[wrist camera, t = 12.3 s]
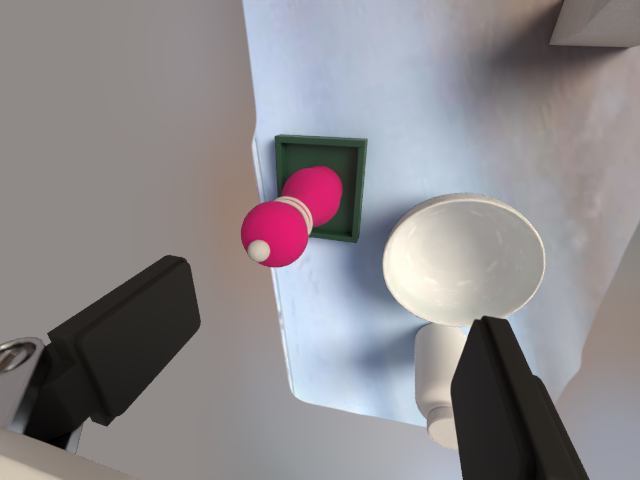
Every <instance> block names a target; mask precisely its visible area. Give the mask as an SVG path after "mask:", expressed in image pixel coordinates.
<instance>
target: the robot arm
mask: <svg viewBox="0 0 640 480" xmlns="http://www.w3.org/2000/svg"><path fill="white" fill-rule="evenodd" d="M200 323H201V321H200V315H199V309H198V304H197V299H196V294H195V288H194V284H193V278H192V273H191V268H190V265H189V263H187V260H186V259H185V258H182V257H177V256H172V255H167V256H164V257H163V258H161V259H160V260H159V261H157V262H155V263H154V264H152V265H151V266H149V267H148V268H146V269H145V270H143V271H142V272H140V273H139V274H137V275H136V276H134V277H132V278H131V279H130V280H128V281H126V282H125V283H123V284H122V285H120V286H119V287H117V288H116V289H114V290H113V291H111V292H110V293H108V294H107V295H105V296H103V297H102V298H101V299H99V300H97V301H96V302H94V303H93V304H91V305H90V306H88V307H87V308H85V309H84V310H82V311H81V312H79V313H78V314H76V315H75V316H73V317H71V318H70V319H68V320H67V321H65V322H64V323H62V324H61V325H59V326H58V327H56V328H55V329H53V330H52V331H50V332H49V333H47V334H48V336H49V338H50V340H51V343H50V344H48V345H47V346H45V345H44V343H43V341H42V340H41V339H39V338H36V337H25V338H18V339H15V340H11V341H8V342H5V343H3V344H0V480H140V479H137V478H134V477H132V476H130V475H127V474H124V473H122V472H119V471H116V470H114V469H112V468H109V467H106V466H104V465H101V464H99V463H96V462H94V461H91V460H88V459H86V458H83V457H81V456H78V455H76V451H77V448H78V444H79V440H80V436H81V431H82V427H83V422H84V421H85V420H86V419H87V418H88V417H89V416H90V418H91V420H92V421H93V422H96V423H98V424H101V425H104V426H108V425H109V424H110V423H111V422H112V421H113V420H114V418H115V417H117V416H120V415H121V414H123V413H124V412H125V411H126V410H127V409H128V407H129V406H130V405H131V404H132V403H133V402H134V401H135V400H136V398H137V397H138V396H139V395H140V394H141V393H142V392H143V391H144V390H145V389H146V387H147V386H148V385H149V384H150V383H151V382H152V381H153V379H154V378H155V377H156V376H157V375H158V374H159V373H160V372H161V371H162V370H163V368H164V367H165V366H166V365H167V364H168V363H169V362H170V361H171V360H172V358H173V357H174V356H175V355H176V354H177V353H178V352H179V350H181V348H182V347H183V346H184V345H185V344H186V343H187V342H188V341H189V339H190V338H191V337H192V336H193V335H194V334H195V333H196V332H197V330H198V329H199V327H200ZM450 395H451V402H452V409H453V415H454V422H455V429H456V436H457V443H458V449H459V456H460V463H461V470H462V477H463V480H589V478H588V476H587V473H586V471H585V469H584V468H583V465H582V463H581V461H580V459H579V457H578V454H577V452H576V450H575V448H574V446H573V444H572V442H571V440H570V438H569V436H568V434H567V431H566V430H565V427H564V425H563V423H562V421H561V419H560V417H559V415H558V413H557V411H556V409H555V406H554V404H553V402H552V400H551V398H550V396H549V394H548V392H547V390H546V387H545V385H544V384H543V382H542V381H541V379H540V378H539V377H537V376H535V375H533V374H532V372H531V370H530V368H529V366H528V363H527V361H526V359H525V357H524V354H523V352H522V350H521V348H520V346H519V343H518V341H517V339H516V337H515V335H514V332H513V330H512V328H511V326H510V324H509V322H508V320H506V319H501V318H496V317H491V316H486V315H484V316H482V317H481V319H480V320H479V319H475V320H474V321H473V323H472V326H471V329H470V332H469V334H468V337H467V340H466V343H465V345H464V348H463V351H462V354H461V356H460V359H459V362H458V365H457V367H456V370H455V373H454V376H453V378H452V381H451V386H450Z"/></svg>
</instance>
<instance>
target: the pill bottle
mask: <svg viewBox="0 0 640 480" xmlns="http://www.w3.org/2000/svg"><path fill="white" fill-rule="evenodd" d="M466 340H467V337H466V335H465V334H464V333H463V332H462V331H461V330H460V329H458V328H457V327H451V326H444V325H440V324H435V323H432V324H428V325H426V326H424V327H422V328H421V329H420V330H419V331H418V332H417V334H416V337H415V399H416V404H417V407H418V409H419V411H420V412H421V414H422V415H423V416H424V417H425V418H426V419H427V431H428V434H429V436H430V437H431V438H432V440H434V441H435V442H436V443H437V444H439V445H441V446H443V447H446V448H450V449H457V450H459V449H458V443H457V436H456V429H455V422H454V415H453V409H452V402H451V395H450V386H451V381H452V378H453V376H454V373H455V370H456V367H457V365H458V362H459V359H460V356H461V354H462V351H463V348H464V345H465V343H466Z"/></svg>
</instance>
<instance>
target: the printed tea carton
mask: <svg viewBox="0 0 640 480" xmlns="http://www.w3.org/2000/svg"><path fill="white" fill-rule="evenodd" d="M549 45H569V46H601V47H635V46H639V45H640V0H564V3H563V6H562V8H561V11H560V14H559V17H558V20H557V23H556V26H555V28H554V31H553V34H552V37H551V40H550V43H549Z"/></svg>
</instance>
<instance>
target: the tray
mask: <svg viewBox="0 0 640 480" xmlns="http://www.w3.org/2000/svg"><path fill="white" fill-rule="evenodd" d="M367 140H368V139H360V138H340V137H321V136H301V135H277V136H275V142H276V143H275V148H276V170H277V191H278V198H279V197H281V196H282V191H283V188H284V185H285V183H286V182H287V180H288V179H289V178H290V177H291V176H292V175H293V174H294V173H295V172H297V171H299V170H301V169H305V168H311V167H313V166H325V167H328V168H329V169H331V170H333V171H334V172H335V173H336V174H337V175H338V177H339V178H340V180H341V183H342V196H341V199H340V205H339V208H338V210H337V212H336V214H335V215H334V216H333V217H332V218H331V219H330V220H329V221H328V222H326V223H325V224H323V225H320V226H317V227H312V230H311V233H310V234H309V236H308V237H314V238H322V239H329V240H337V241H344V242H352V243H357V242H358V239H359V233H360V221H361V209H362V198H363V186H364V175H365V163H366V151H367Z"/></svg>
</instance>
